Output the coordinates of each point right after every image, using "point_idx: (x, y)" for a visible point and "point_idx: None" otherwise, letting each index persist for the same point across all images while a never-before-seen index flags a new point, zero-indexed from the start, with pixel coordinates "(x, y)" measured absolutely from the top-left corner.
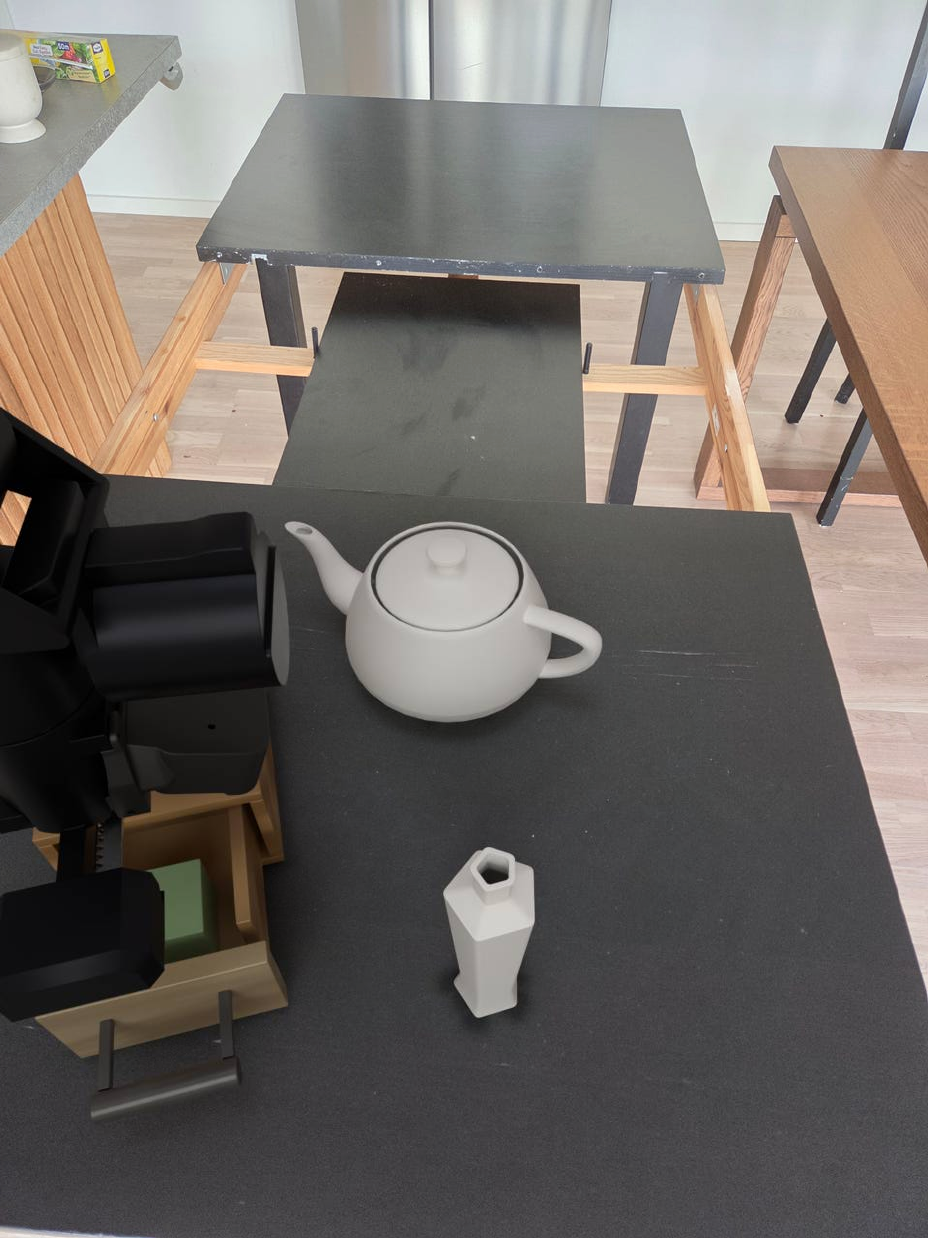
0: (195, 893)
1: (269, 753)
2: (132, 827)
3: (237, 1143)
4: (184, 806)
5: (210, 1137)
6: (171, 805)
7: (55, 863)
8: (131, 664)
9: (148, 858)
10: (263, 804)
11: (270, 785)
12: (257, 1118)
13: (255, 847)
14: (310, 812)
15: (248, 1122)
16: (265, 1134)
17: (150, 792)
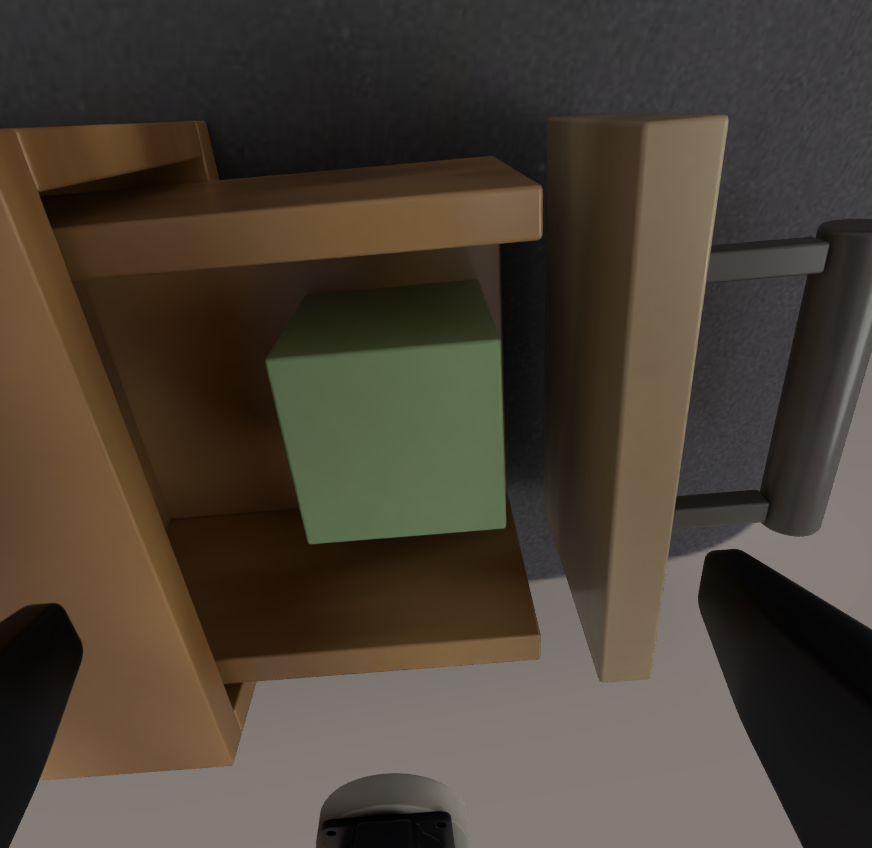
0: (379, 366)
1: None
2: None
3: (794, 234)
4: (90, 443)
5: (762, 285)
6: (91, 484)
7: None
8: None
9: (217, 446)
10: (39, 132)
11: None
12: (768, 194)
13: (192, 190)
14: (48, 32)
15: (768, 213)
16: (803, 177)
17: (49, 605)
